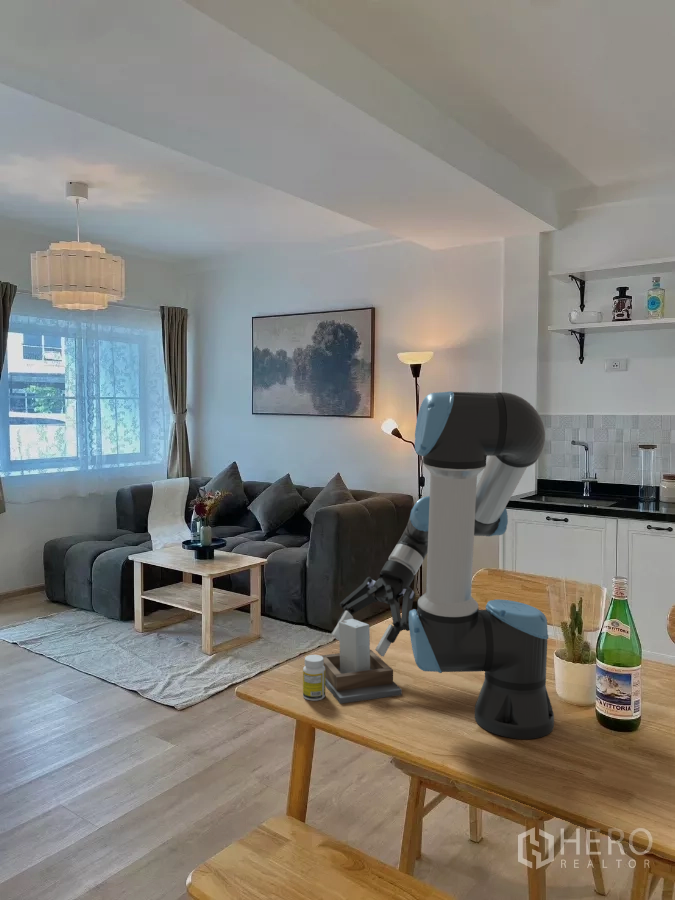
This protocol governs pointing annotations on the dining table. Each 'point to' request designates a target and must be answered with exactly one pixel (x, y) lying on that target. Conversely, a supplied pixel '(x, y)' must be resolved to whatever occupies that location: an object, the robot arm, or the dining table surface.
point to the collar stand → (359, 680)
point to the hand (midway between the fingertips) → (356, 645)
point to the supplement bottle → (314, 678)
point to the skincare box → (354, 646)
